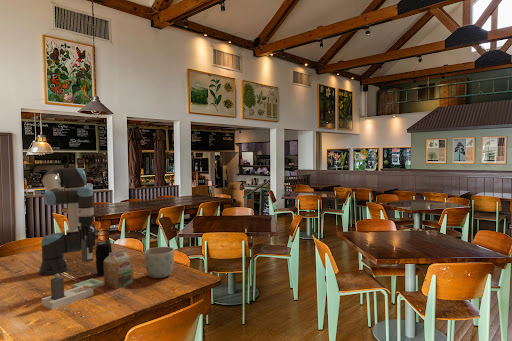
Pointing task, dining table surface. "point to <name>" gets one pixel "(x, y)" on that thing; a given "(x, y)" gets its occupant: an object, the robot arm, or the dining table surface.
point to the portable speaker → (102, 255)
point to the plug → (85, 250)
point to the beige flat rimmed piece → (68, 297)
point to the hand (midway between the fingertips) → (87, 257)
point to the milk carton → (118, 269)
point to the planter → (159, 261)
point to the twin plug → (57, 287)
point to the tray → (89, 283)
